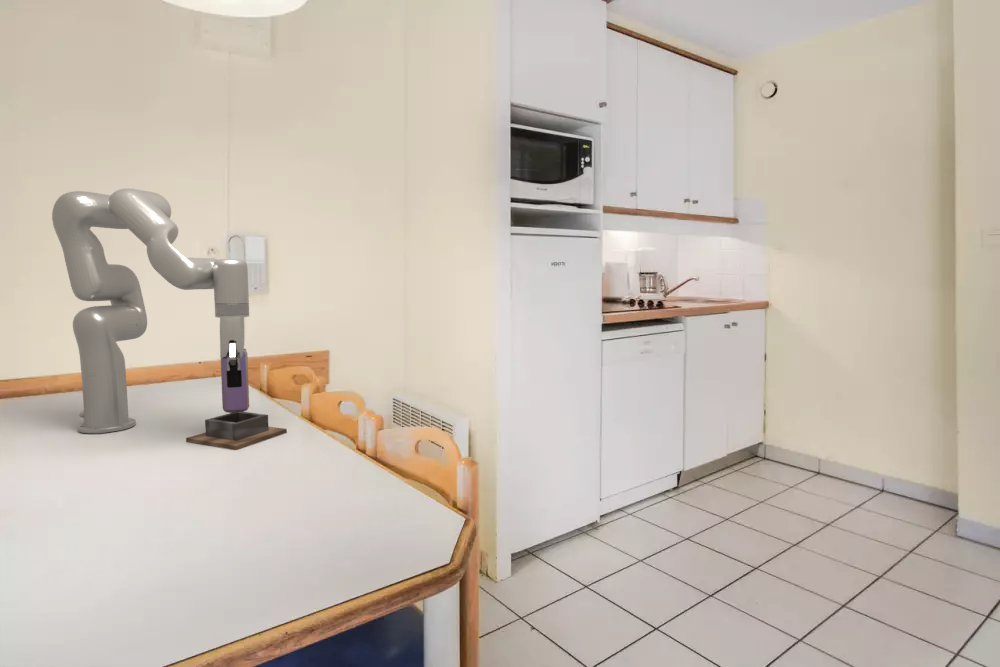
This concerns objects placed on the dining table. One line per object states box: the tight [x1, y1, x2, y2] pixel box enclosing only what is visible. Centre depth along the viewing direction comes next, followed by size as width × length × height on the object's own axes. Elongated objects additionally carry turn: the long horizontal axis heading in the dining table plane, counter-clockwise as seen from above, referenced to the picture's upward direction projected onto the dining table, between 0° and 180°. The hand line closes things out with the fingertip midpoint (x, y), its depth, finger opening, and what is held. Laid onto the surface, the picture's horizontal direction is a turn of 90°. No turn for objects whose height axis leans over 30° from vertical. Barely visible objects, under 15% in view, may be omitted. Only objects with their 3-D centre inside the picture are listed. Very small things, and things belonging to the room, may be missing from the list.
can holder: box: [185, 411, 288, 451], centre depth 145 cm, size 16×16×5 cm
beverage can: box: [220, 348, 250, 414], centre depth 144 cm, size 6×6×15 cm
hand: (235, 383), depth 144 cm, fingers closed on beverage can, 5 cm apart
